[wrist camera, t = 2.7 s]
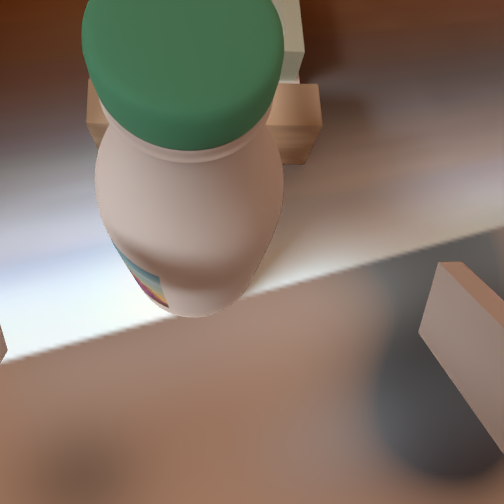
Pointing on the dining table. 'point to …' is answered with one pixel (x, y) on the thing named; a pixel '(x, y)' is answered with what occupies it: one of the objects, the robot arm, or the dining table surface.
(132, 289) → the dining table surface
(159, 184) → the milk bottle
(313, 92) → the board
